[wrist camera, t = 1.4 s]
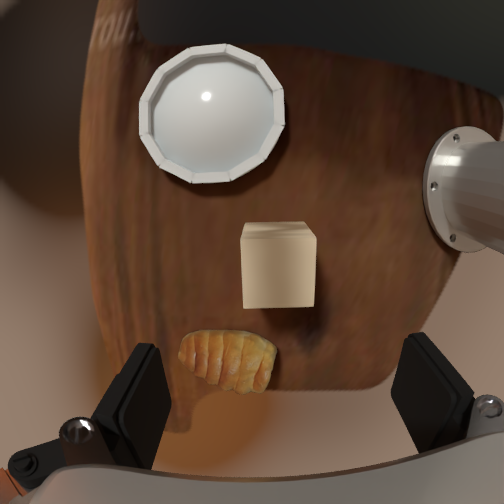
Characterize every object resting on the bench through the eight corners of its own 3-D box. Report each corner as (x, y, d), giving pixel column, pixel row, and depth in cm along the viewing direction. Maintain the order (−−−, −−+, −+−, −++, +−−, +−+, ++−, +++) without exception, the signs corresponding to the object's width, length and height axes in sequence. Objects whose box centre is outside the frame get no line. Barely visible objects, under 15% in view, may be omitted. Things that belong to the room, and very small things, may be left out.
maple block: (303, 221, 25) (316, 238, 20) (303, 276, 27) (313, 306, 21) (245, 222, 26) (240, 239, 20) (247, 278, 27) (243, 308, 21)
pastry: (179, 366, 30) (170, 388, 27) (186, 313, 28) (176, 333, 25) (264, 384, 31) (264, 407, 27) (280, 333, 29) (283, 355, 25)
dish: (280, 47, 21) (281, 41, 20) (285, 180, 24) (287, 181, 23) (145, 60, 22) (139, 55, 20) (146, 187, 25) (140, 188, 24)
